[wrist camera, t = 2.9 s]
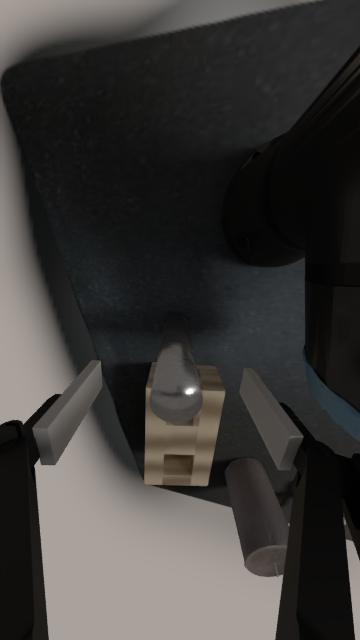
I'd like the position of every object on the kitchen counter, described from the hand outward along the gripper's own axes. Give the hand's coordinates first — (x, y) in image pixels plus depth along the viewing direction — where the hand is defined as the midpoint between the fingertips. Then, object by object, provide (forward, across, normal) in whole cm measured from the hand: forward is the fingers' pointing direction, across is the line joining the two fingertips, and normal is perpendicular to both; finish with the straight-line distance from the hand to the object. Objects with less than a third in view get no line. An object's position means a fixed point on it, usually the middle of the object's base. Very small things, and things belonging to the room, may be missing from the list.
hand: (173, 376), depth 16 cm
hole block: (+15, +2, -19) cm, 24 cm away
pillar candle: (+15, +19, -37) cm, 44 cm away
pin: (+15, 0, 0) cm, 15 cm away
